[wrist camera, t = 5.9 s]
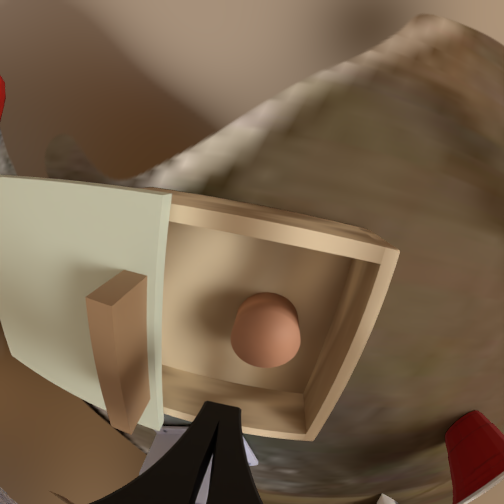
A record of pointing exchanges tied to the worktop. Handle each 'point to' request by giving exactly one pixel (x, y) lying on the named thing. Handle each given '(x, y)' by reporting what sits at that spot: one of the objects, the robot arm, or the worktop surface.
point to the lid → (87, 290)
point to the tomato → (2, 95)
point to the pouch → (386, 500)
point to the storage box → (265, 311)
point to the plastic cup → (474, 456)
